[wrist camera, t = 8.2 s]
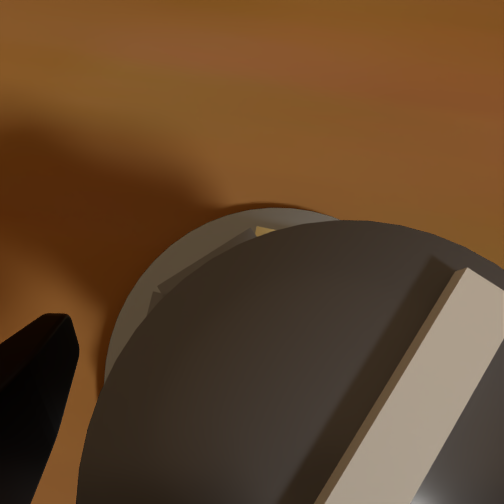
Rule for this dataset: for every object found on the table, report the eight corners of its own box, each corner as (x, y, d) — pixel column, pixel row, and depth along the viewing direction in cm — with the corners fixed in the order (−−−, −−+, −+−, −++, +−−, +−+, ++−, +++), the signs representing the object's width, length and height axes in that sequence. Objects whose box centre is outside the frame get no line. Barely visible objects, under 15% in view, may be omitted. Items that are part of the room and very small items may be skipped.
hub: (425, 602, 15) (455, 647, 13) (66, 518, 15) (36, 548, 13) (464, 247, 17) (494, 233, 15) (157, 184, 18) (144, 162, 16)
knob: (299, 483, 15) (491, 1086, 3) (181, 394, 15) (-66, 588, 4) (376, 358, 16) (772, 424, 4) (262, 279, 16) (284, 118, 4)
